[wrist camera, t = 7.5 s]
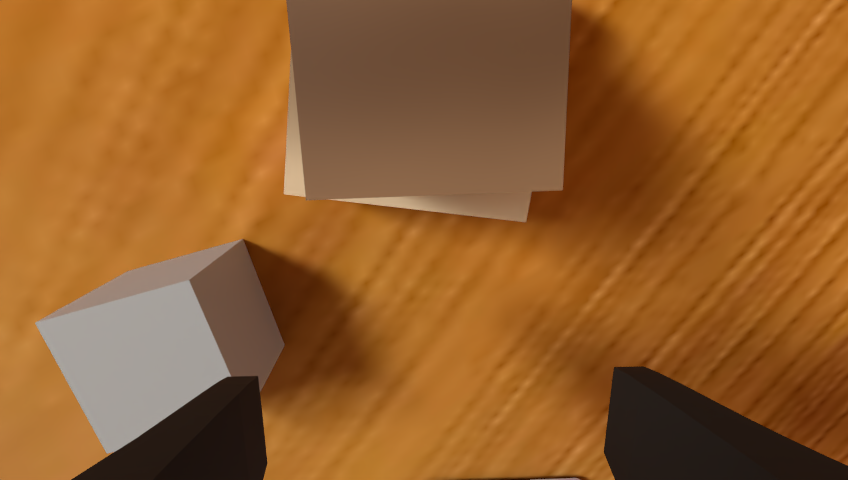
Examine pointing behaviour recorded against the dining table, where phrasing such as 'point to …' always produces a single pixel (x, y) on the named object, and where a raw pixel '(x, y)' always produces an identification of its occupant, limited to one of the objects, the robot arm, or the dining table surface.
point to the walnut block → (430, 95)
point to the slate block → (163, 339)
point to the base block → (462, 204)
